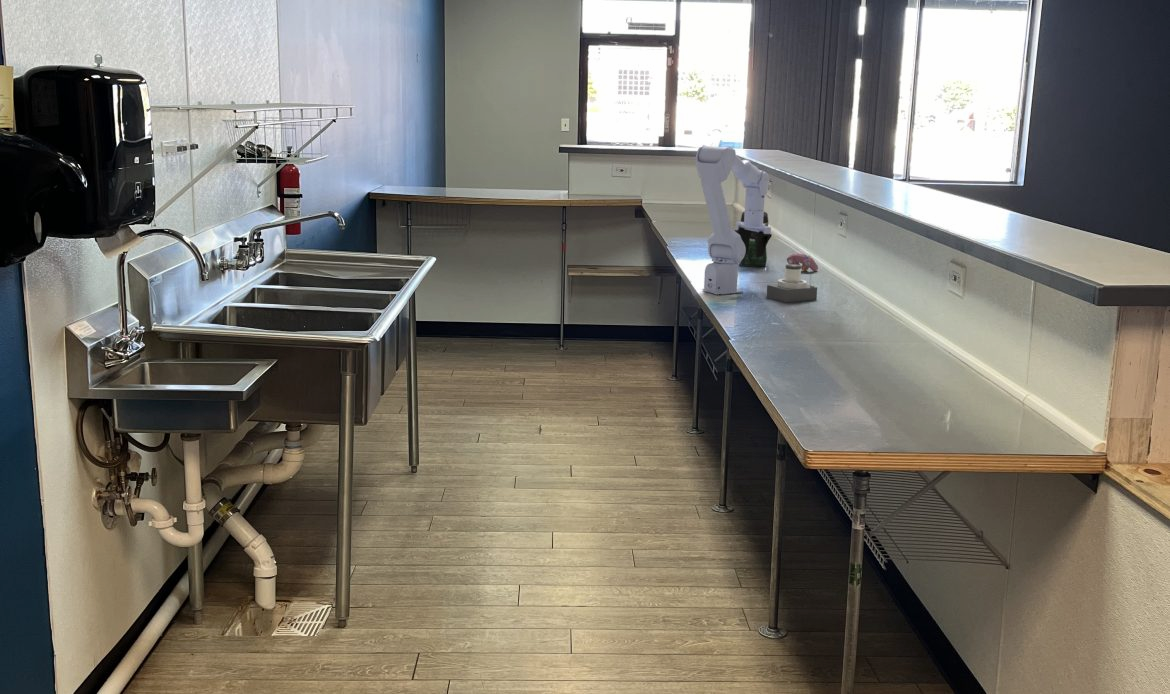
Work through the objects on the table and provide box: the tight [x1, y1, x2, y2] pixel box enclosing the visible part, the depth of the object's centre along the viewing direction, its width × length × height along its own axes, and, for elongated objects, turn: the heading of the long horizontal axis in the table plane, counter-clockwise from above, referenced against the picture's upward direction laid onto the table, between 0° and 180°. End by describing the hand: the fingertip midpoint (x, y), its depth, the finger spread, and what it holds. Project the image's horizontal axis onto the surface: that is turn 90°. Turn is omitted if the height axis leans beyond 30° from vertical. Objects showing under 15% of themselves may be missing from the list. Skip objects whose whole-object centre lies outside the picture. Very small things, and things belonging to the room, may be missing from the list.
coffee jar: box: [738, 211, 770, 268], centre depth 353 cm, size 10×8×19 cm
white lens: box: [784, 263, 802, 283], centre depth 297 cm, size 4×4×6 cm
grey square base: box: [766, 278, 818, 303], centre depth 298 cm, size 11×9×5 cm
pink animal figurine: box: [786, 253, 819, 272], centre depth 346 cm, size 10×5×7 cm, turn 46°
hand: (751, 254), depth 316 cm, fingers open, 7 cm apart
